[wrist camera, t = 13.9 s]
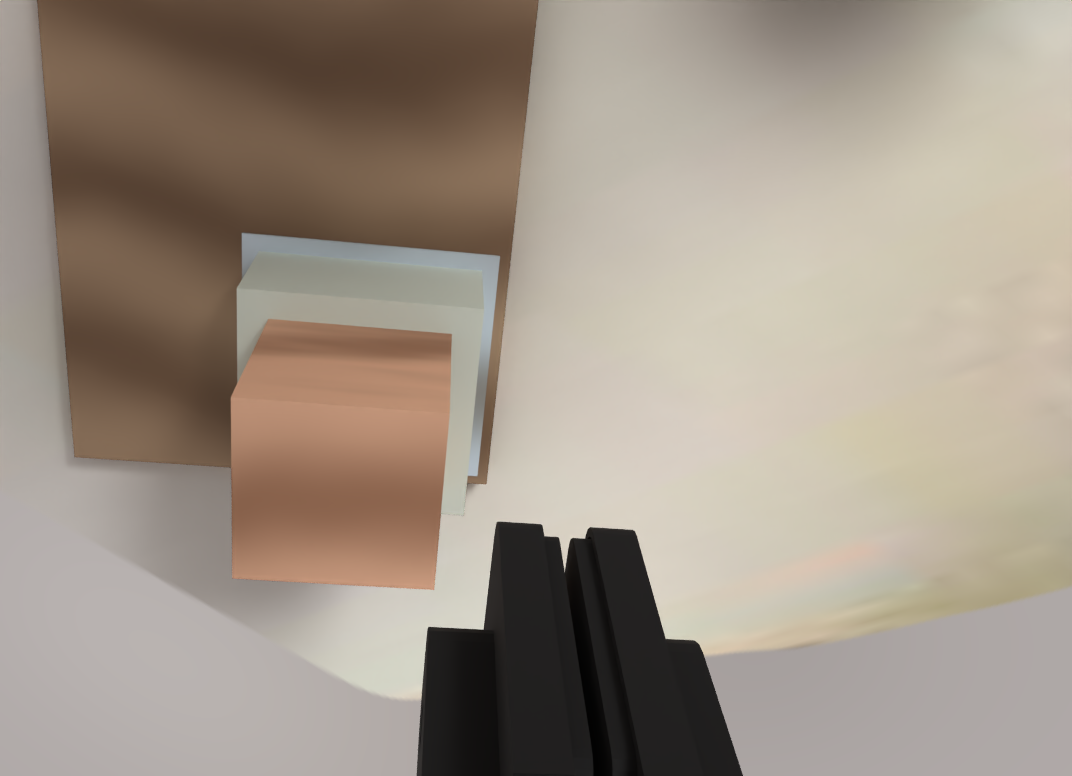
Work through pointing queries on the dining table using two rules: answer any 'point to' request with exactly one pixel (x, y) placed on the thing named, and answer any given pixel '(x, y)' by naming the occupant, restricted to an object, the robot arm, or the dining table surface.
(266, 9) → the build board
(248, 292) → the base block
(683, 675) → the robot arm
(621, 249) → the dining table surface
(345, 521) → the top block
